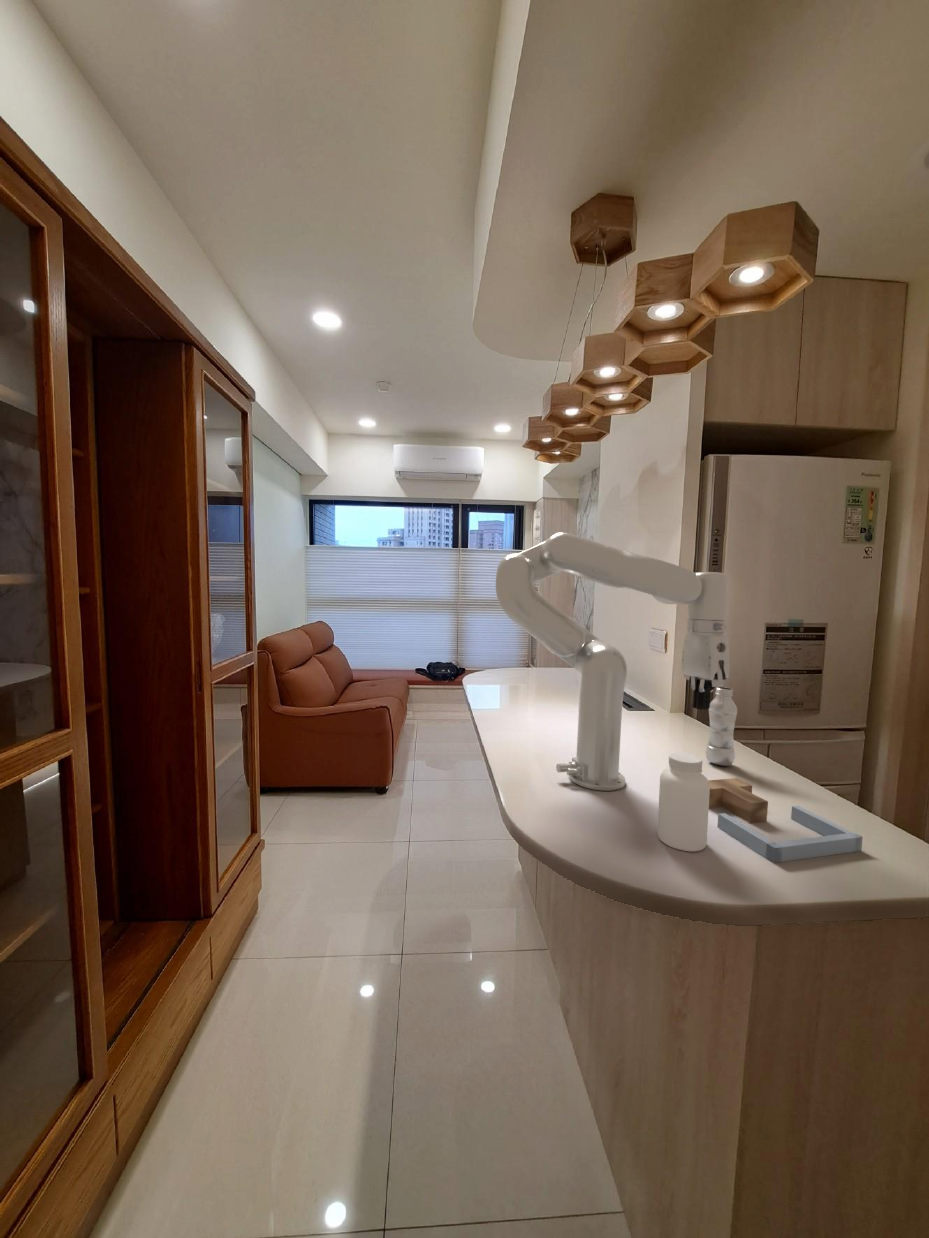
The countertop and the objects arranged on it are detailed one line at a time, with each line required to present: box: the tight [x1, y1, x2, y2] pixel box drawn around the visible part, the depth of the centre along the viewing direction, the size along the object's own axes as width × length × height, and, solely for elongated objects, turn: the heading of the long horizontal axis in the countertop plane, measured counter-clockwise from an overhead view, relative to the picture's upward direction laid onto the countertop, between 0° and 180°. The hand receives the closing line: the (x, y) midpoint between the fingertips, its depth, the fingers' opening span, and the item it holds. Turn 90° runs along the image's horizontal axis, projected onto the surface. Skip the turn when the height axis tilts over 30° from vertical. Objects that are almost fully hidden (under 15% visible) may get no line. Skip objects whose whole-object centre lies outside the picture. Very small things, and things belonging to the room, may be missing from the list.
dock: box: [716, 805, 863, 864], centre depth 85 cm, size 19×12×2 cm, turn 104°
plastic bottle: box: [705, 686, 738, 767], centre depth 122 cm, size 6×7×20 cm
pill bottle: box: [657, 752, 710, 852], centre depth 83 cm, size 8×8×15 cm
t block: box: [708, 777, 769, 824], centre depth 96 cm, size 11×11×4 cm
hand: (701, 708), depth 106 cm, fingers closed
